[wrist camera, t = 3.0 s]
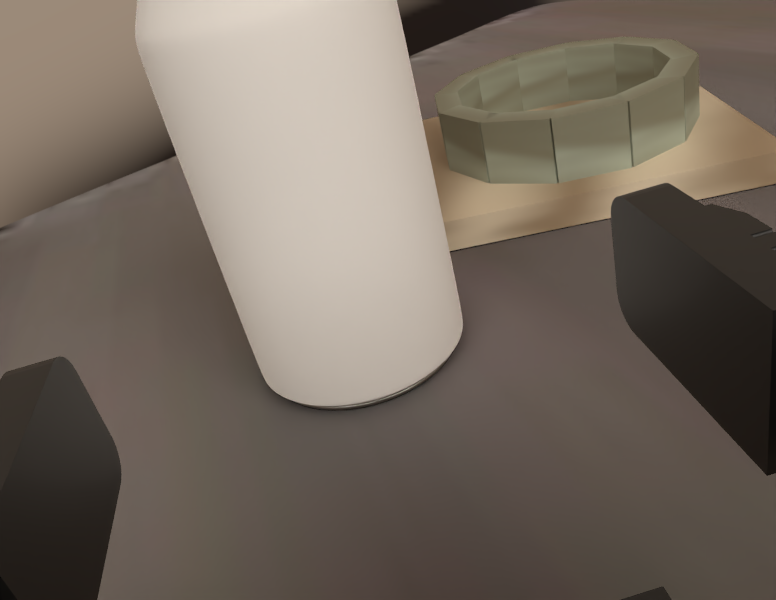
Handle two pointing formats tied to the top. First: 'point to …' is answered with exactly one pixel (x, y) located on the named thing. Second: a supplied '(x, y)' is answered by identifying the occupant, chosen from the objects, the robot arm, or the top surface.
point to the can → (311, 187)
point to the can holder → (583, 137)
